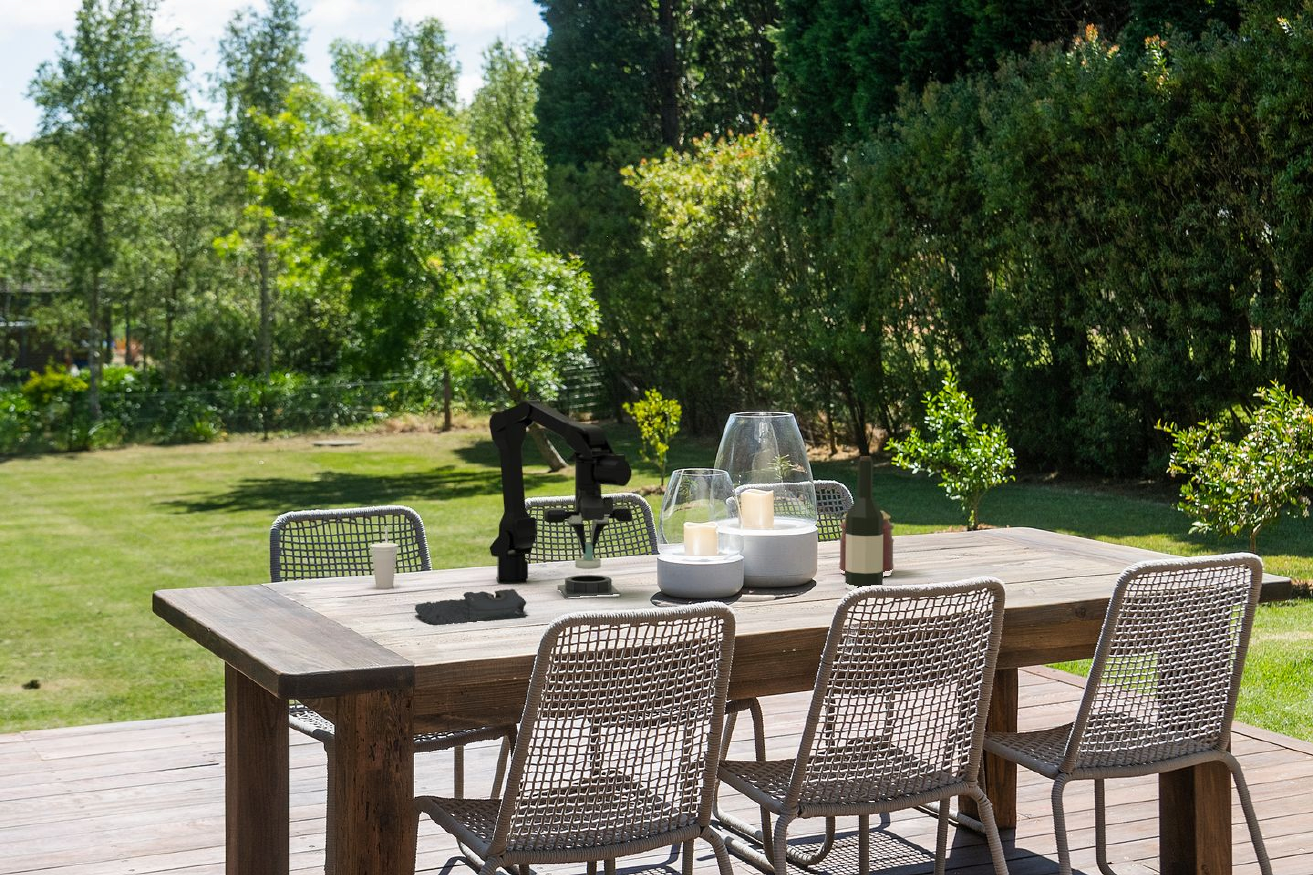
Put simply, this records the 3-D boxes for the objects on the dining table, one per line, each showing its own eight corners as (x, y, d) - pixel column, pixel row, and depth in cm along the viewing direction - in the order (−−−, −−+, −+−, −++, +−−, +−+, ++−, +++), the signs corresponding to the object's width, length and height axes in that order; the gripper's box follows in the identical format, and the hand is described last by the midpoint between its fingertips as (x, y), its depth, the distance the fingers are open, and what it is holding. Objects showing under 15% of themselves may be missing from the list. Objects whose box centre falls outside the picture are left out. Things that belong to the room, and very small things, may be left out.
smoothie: (392, 590, 298) (391, 527, 297) (365, 589, 299) (364, 527, 298) (403, 585, 304) (402, 524, 303) (377, 584, 305) (376, 523, 304)
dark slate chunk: (407, 615, 271) (407, 592, 271) (509, 606, 281) (509, 584, 281) (429, 628, 258) (429, 604, 257) (535, 619, 267) (535, 596, 267)
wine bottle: (881, 585, 304) (882, 455, 303) (883, 592, 296) (885, 458, 294) (844, 585, 305) (845, 455, 304) (846, 591, 297) (847, 457, 295)
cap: (577, 569, 291) (577, 546, 290) (573, 565, 296) (573, 542, 296) (602, 568, 292) (602, 545, 292) (598, 564, 297) (598, 542, 297)
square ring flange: (565, 598, 287) (565, 584, 287) (557, 589, 299) (557, 575, 299) (620, 596, 290) (620, 582, 290) (610, 587, 301) (610, 573, 301)
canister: (828, 572, 324) (829, 500, 323) (873, 568, 330) (874, 497, 329) (858, 580, 312) (859, 505, 311) (904, 576, 318) (905, 503, 317)
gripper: (551, 487, 283) (551, 560, 284) (636, 486, 287) (636, 557, 288) (544, 482, 294) (544, 552, 295) (626, 481, 298) (626, 550, 299)
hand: (588, 553), depth 294 cm, fingers closed on cap
